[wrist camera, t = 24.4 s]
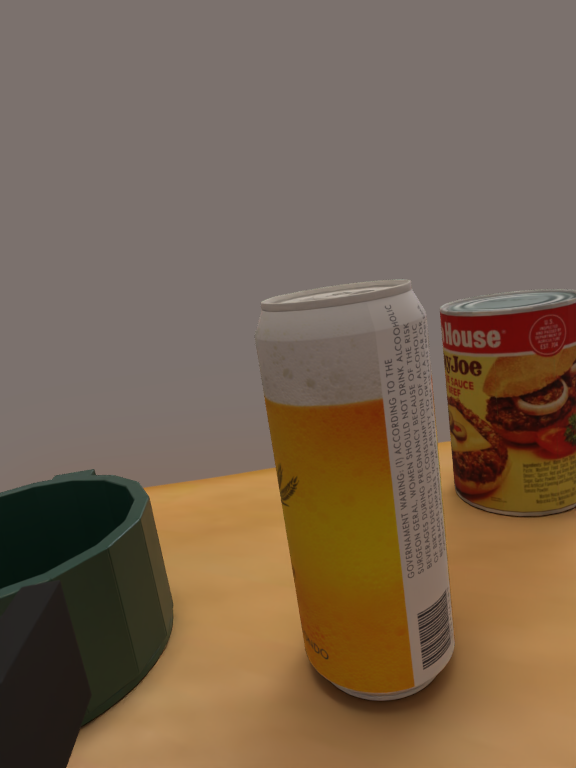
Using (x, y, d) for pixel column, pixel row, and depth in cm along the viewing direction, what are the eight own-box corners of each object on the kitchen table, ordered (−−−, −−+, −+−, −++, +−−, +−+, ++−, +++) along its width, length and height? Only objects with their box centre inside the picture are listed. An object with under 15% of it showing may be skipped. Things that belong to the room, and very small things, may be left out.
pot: (-231, 872, 17) (-311, 706, 16) (1, 572, 34) (-28, 477, 33) (140, 798, 18) (95, 631, 16) (189, 539, 35) (169, 444, 33)
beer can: (358, 591, 27) (318, 285, 23) (480, 633, 23) (453, 272, 19) (278, 671, 22) (213, 309, 19) (411, 740, 18) (360, 298, 15)
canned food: (441, 470, 39) (426, 303, 36) (554, 456, 38) (547, 285, 36) (475, 524, 31) (459, 317, 28) (616, 507, 31) (613, 295, 28)
